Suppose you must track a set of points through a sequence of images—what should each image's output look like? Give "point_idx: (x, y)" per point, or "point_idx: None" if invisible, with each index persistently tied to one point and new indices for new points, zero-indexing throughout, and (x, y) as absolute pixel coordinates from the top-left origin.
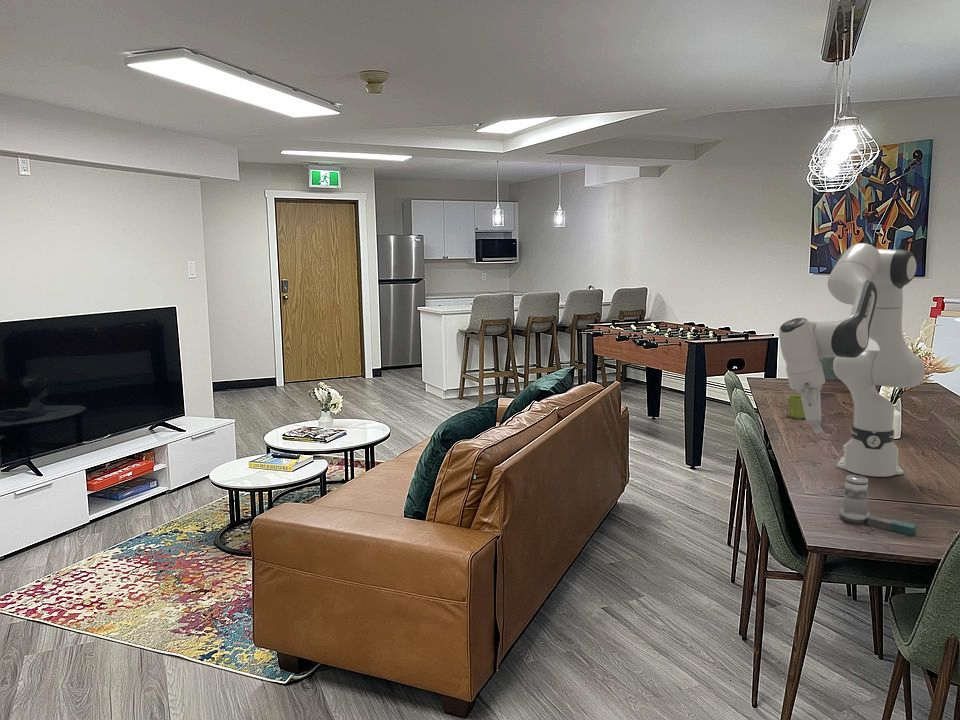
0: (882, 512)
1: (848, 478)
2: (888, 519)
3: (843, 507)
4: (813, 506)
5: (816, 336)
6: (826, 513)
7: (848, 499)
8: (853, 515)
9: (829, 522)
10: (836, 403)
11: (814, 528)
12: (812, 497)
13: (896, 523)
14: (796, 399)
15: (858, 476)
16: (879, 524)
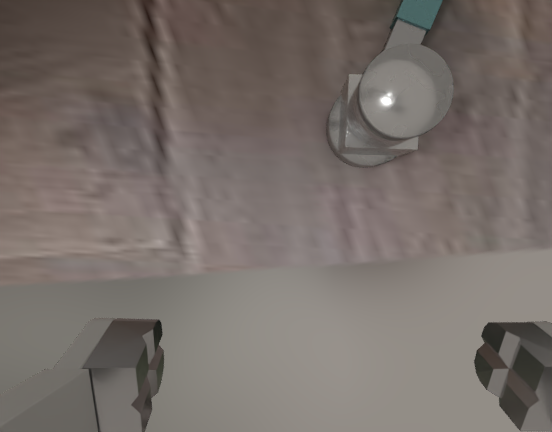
0: (269, 44)
1: (427, 127)
2: (392, 32)
3: (360, 154)
4: (285, 230)
5: None
6: (334, 199)
7: (417, 138)
8: None
9: (409, 196)
10: None
11: (472, 238)
12: (203, 229)
13: (428, 13)
14: None
15: (381, 81)
16: None
